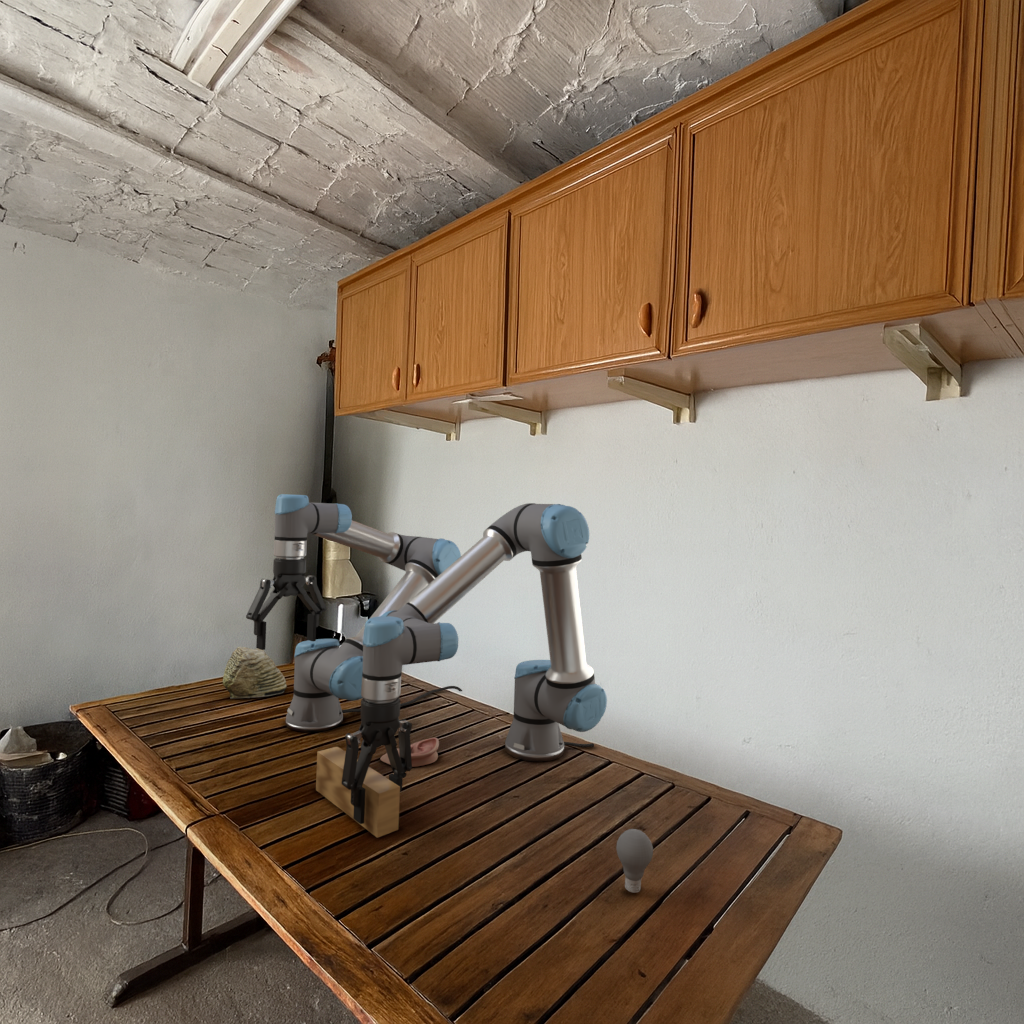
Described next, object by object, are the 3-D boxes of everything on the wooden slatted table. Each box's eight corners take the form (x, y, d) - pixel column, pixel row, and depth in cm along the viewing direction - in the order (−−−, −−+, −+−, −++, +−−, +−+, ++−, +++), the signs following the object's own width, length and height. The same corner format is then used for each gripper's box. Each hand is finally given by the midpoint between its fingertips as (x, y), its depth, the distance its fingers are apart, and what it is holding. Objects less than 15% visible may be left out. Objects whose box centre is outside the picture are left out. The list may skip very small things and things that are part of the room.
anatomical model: (375, 747, 151) (394, 730, 162) (374, 764, 151) (393, 746, 162) (428, 754, 148) (443, 736, 159) (427, 771, 148) (443, 752, 159)
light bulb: (610, 879, 108) (613, 822, 108) (644, 879, 109) (647, 822, 109) (619, 902, 102) (622, 840, 102) (655, 901, 103) (658, 840, 103)
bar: (315, 790, 137) (317, 751, 136) (335, 783, 140) (337, 746, 140) (377, 838, 119) (378, 793, 119) (398, 829, 122) (400, 786, 122)
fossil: (218, 695, 195) (220, 647, 195) (278, 685, 208) (279, 640, 207) (228, 703, 189) (230, 653, 188) (289, 692, 201) (290, 645, 201)
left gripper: (249, 561, 142) (246, 655, 142) (342, 556, 161) (339, 639, 162) (232, 558, 147) (229, 649, 147) (324, 554, 166) (321, 634, 166)
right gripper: (344, 713, 113) (339, 839, 114) (433, 693, 127) (429, 806, 128) (324, 702, 119) (319, 823, 119) (412, 684, 133) (408, 792, 133)
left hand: (286, 644), depth 154 cm, fingers open, 13 cm apart
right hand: (376, 814), depth 123 cm, fingers open, 7 cm apart
